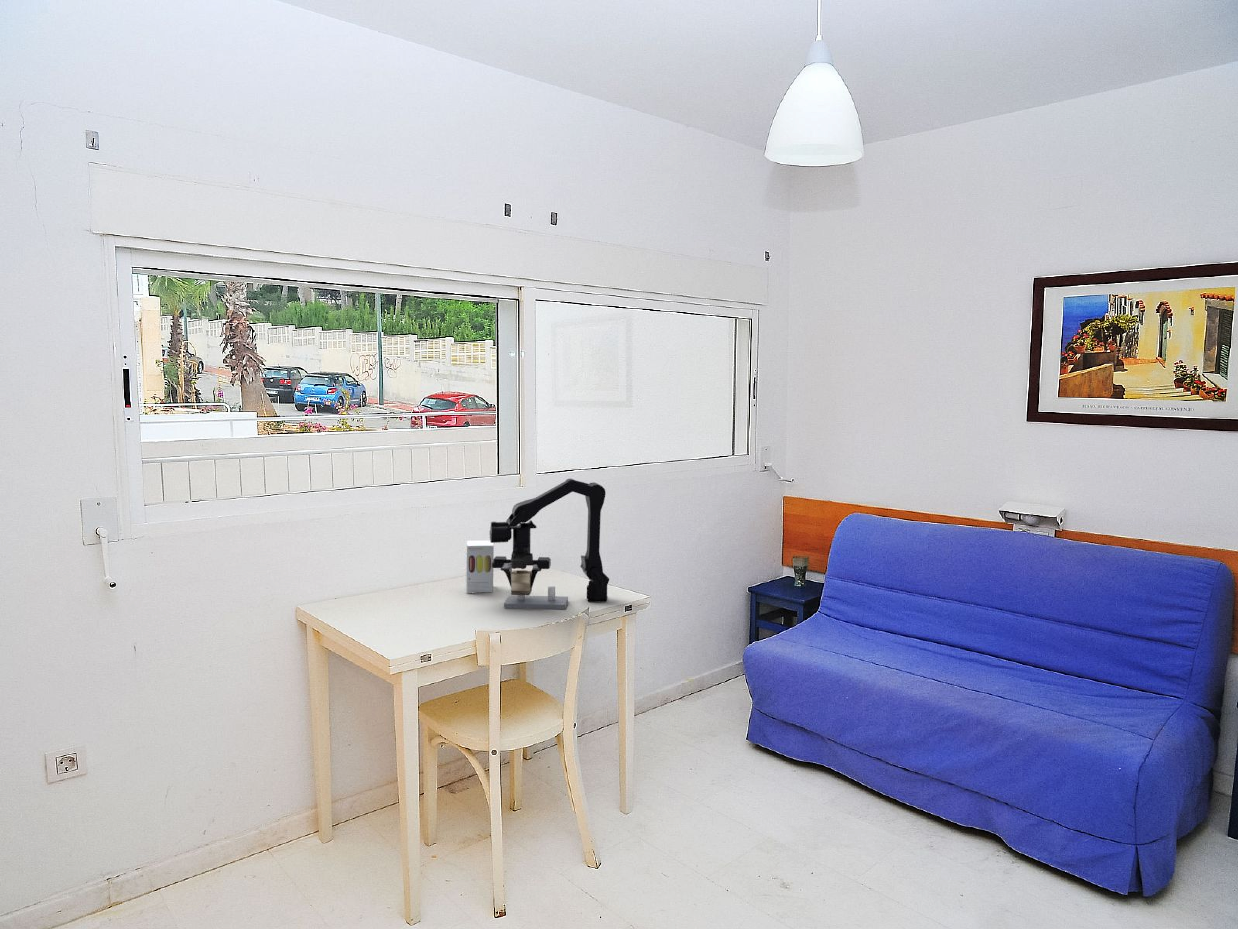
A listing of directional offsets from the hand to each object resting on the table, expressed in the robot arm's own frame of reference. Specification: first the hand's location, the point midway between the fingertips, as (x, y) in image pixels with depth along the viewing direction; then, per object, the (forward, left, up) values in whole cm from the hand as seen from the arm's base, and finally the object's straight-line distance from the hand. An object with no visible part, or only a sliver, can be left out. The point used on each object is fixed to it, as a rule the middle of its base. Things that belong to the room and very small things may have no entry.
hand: (521, 588), depth 267 cm
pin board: (-5, 0, -5) cm, 7 cm away
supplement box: (+17, -17, -6) cm, 25 cm away
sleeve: (0, 0, -2) cm, 2 cm away
